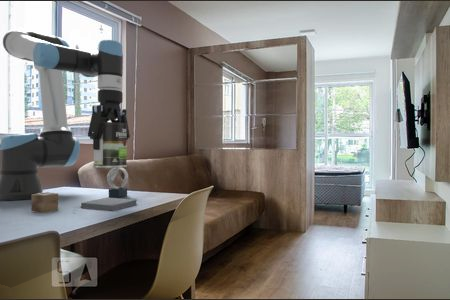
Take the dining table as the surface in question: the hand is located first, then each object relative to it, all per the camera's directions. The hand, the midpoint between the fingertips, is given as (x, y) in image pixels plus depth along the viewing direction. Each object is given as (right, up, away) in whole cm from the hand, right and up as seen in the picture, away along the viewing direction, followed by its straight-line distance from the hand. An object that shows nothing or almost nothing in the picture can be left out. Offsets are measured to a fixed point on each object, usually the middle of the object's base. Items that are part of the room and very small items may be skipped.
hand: (110, 160), depth 112 cm
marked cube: (-16, -15, -9) cm, 24 cm away
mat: (0, -15, 0) cm, 15 cm away
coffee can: (0, -2, 0) cm, 2 cm away
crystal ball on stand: (-4, -15, +20) cm, 25 cm away
